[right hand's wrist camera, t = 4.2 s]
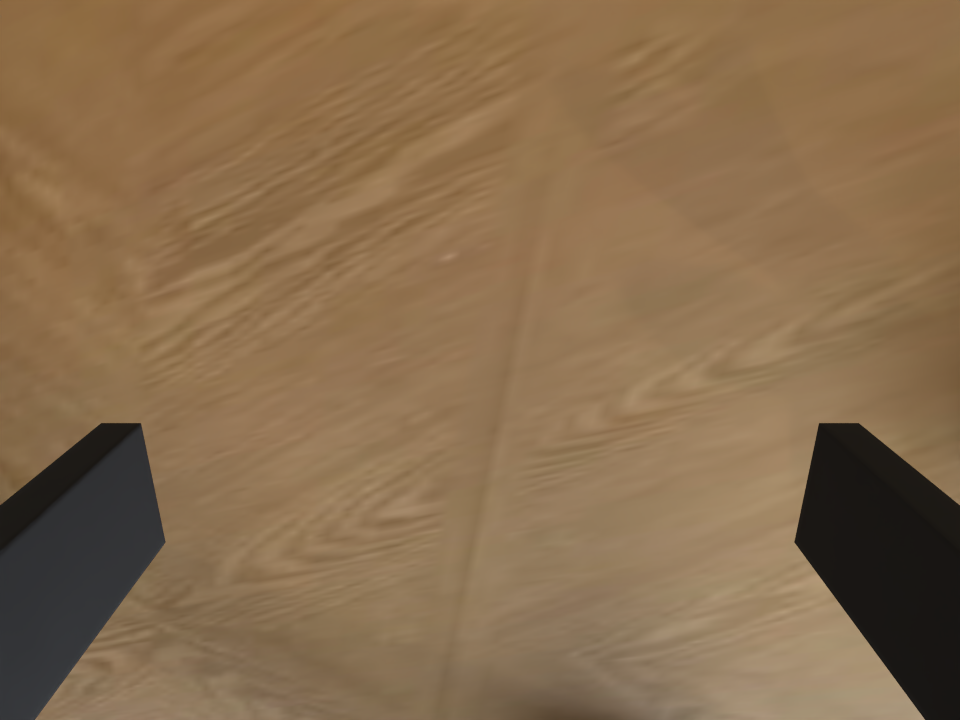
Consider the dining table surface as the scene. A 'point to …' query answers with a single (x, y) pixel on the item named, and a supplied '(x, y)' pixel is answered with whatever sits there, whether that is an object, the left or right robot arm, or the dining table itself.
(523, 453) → the dining table surface
